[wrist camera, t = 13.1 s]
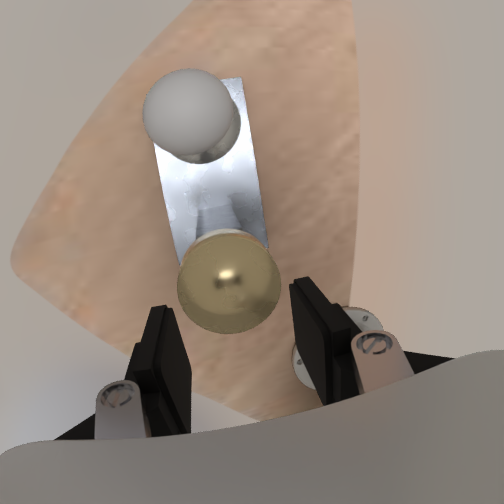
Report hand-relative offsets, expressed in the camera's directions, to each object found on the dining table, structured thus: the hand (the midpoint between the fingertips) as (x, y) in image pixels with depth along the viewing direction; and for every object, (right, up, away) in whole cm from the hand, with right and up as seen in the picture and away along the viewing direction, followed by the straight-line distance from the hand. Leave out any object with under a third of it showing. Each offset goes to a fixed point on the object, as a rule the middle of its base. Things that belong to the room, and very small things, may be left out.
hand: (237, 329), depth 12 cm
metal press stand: (-4, +11, +19) cm, 22 cm away
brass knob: (-1, +3, +10) cm, 10 cm away
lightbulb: (-5, +15, +16) cm, 22 cm away
